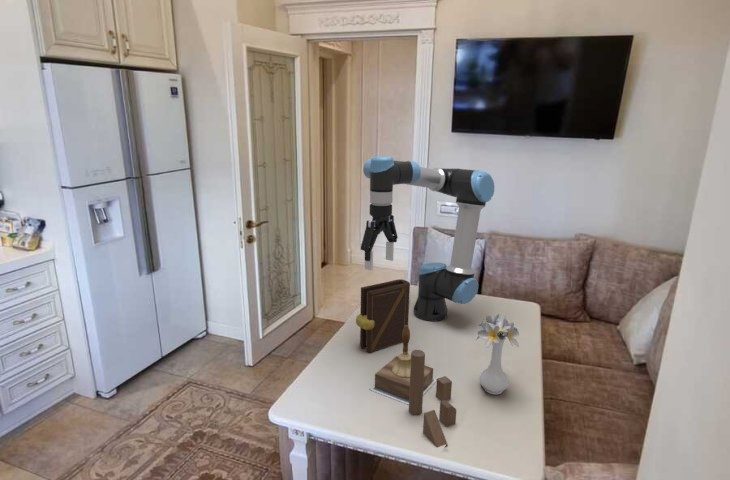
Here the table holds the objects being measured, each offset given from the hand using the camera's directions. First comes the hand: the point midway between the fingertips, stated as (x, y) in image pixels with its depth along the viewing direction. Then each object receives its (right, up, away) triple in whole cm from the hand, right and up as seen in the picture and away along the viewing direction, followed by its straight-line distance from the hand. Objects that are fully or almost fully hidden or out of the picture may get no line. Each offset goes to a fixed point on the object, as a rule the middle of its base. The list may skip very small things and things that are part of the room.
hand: (379, 264), depth 154 cm
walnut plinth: (+8, -40, -7) cm, 41 cm away
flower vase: (+37, -41, -7) cm, 55 cm away
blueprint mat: (+8, -40, -7) cm, 41 cm away
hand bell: (+8, -35, -8) cm, 36 cm away
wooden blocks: (+17, -45, -23) cm, 53 cm away
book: (+2, -33, +19) cm, 38 cm away
